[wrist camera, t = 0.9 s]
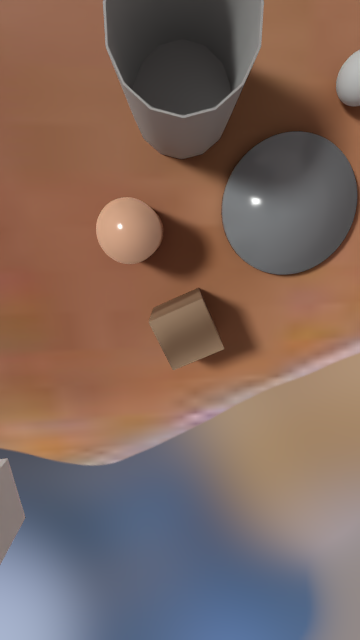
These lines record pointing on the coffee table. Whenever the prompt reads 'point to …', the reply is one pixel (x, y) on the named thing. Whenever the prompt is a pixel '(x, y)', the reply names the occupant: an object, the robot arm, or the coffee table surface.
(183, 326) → the walnut block
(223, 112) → the cup
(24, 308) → the coffee table surface
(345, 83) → the grey ball
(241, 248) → the coaster
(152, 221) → the peach capsule shape
